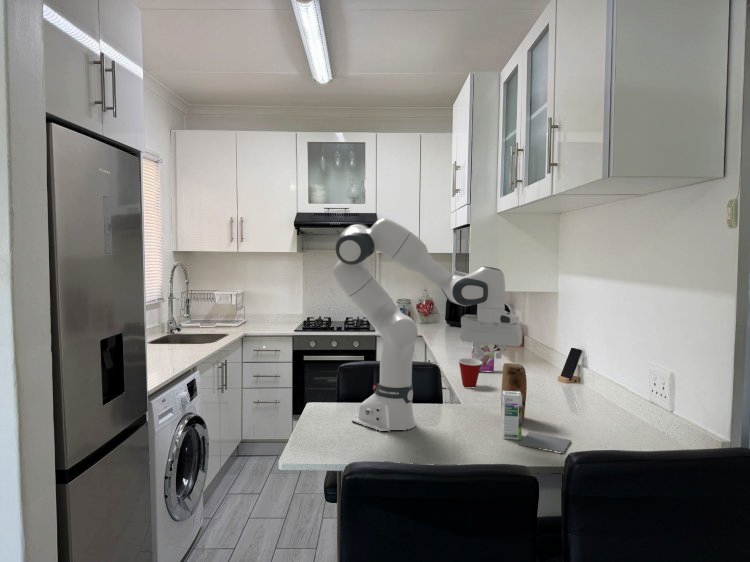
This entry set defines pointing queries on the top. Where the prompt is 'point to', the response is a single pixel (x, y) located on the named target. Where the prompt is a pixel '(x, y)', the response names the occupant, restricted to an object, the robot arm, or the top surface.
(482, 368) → the candy bar box
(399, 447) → the top surface
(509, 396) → the syrup box
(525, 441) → the mat
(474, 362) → the plastic cup
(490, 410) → the top surface
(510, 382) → the block
